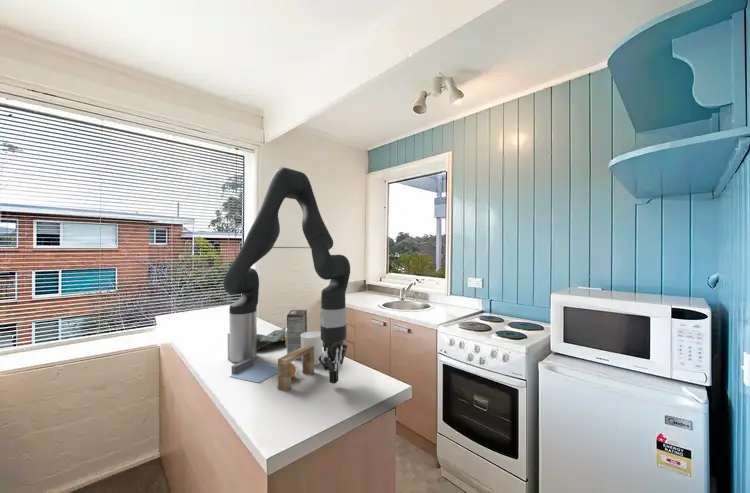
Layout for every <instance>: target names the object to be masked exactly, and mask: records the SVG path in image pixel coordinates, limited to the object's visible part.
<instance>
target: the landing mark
mask: <svg viewBox="0 0 750 493" xmlns="http://www.w3.org/2000/svg"><path fill="white" fill-rule="evenodd" d="M276 374H278V365H272V364H265V363H260V362H256V363H254V365H253V366H251V367H248V368H246V369H244V370H242V371H240V372H238V373H236V374H231V375H229V378H233V379H236V380H242V381H246V382H251V383H257V384H260V383H262V382H264V381H266V380H267V379H269V378H271V377H273V376H274V375H276Z"/></svg>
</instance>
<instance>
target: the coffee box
mask: <svg viewBox="0 0 750 493" xmlns="http://www.w3.org/2000/svg"><path fill="white" fill-rule="evenodd" d="M307 312H308V311H307V309H291V310H290V311H289V312H288V313H287V314H286V327H287V347H286V355H287V354H289V353H291V352H293V351H295V350H297V349H299V348H301V334H302V333H305V332H308V319H307V318H308V317H307V315H308V313H307ZM298 359H302V356H301V357H299V358H298Z"/></svg>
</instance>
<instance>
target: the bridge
mask: <svg viewBox="0 0 750 493" xmlns="http://www.w3.org/2000/svg"><path fill="white" fill-rule="evenodd" d="M301 356H303V362H302V374H306V375H312V374H313V373H315V365H314V346H313V345H304V346H302V347H301V348H299V349H297V350H295V351H293V352H291V353H289V354H287V353H286V354H285V355H283V356H281V357H279V358H278V359H277V366H278V373H277V390H280V391H283V392H284V391H285V392H288V391H289V390H290V389H292V378H291V363H292V362H294V361H296V360H298V359H300V358H299V357H301Z"/></svg>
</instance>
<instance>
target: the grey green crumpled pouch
mask: <svg viewBox="0 0 750 493" xmlns="http://www.w3.org/2000/svg"><path fill="white" fill-rule="evenodd" d="M286 328H287V326H286V327H283V328H282V329H277V330H273V331H271V332H270V333H269V334H267V335H266V334H258V333H257V351H258V350H259V349H261V348H263V347H264V346H267V345H270V344H272V343H276V342H277V343H279V342H282V340H285V330H286Z"/></svg>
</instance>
